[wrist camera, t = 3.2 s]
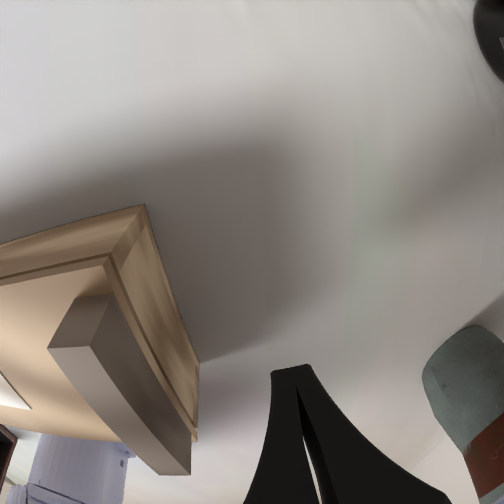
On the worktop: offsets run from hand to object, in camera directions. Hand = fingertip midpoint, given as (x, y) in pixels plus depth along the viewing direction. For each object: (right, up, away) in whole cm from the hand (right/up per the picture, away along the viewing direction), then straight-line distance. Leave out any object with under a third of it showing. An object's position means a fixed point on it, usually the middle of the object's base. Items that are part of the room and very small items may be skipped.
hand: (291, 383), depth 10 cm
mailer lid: (-14, -2, +1) cm, 14 cm away
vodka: (+18, -5, +13) cm, 22 cm away
